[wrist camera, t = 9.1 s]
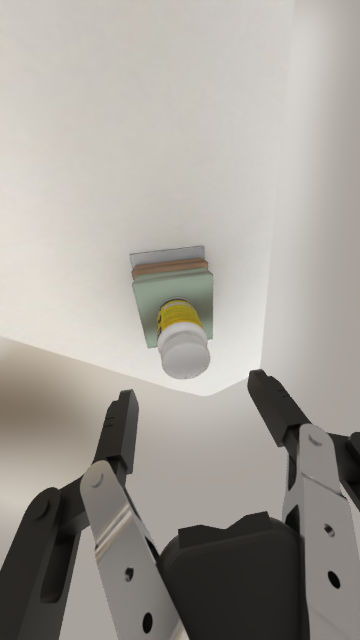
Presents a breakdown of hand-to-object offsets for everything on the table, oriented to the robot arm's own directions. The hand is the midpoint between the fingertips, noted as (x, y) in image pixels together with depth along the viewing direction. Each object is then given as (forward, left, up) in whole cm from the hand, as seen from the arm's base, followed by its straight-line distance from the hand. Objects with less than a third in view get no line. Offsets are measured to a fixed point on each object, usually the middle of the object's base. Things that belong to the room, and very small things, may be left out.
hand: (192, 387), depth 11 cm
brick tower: (0, 0, -20) cm, 20 cm away
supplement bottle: (0, 0, -11) cm, 11 cm away
